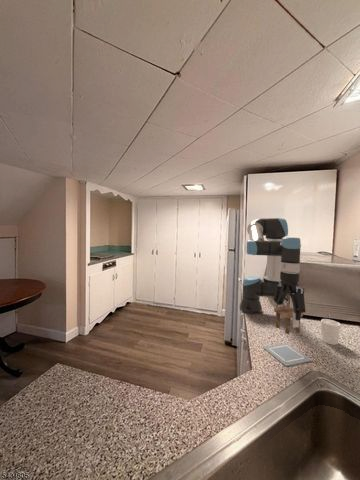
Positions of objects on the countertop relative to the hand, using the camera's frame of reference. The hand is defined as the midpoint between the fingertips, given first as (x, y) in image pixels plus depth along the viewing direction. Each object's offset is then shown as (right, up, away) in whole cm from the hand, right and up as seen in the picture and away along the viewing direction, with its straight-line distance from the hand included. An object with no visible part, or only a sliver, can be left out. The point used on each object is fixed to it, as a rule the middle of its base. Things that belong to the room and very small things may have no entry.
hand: (287, 322), depth 91 cm
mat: (0, -15, +1) cm, 15 cm away
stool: (0, -3, 0) cm, 3 cm away
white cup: (+28, -15, +12) cm, 34 cm away
